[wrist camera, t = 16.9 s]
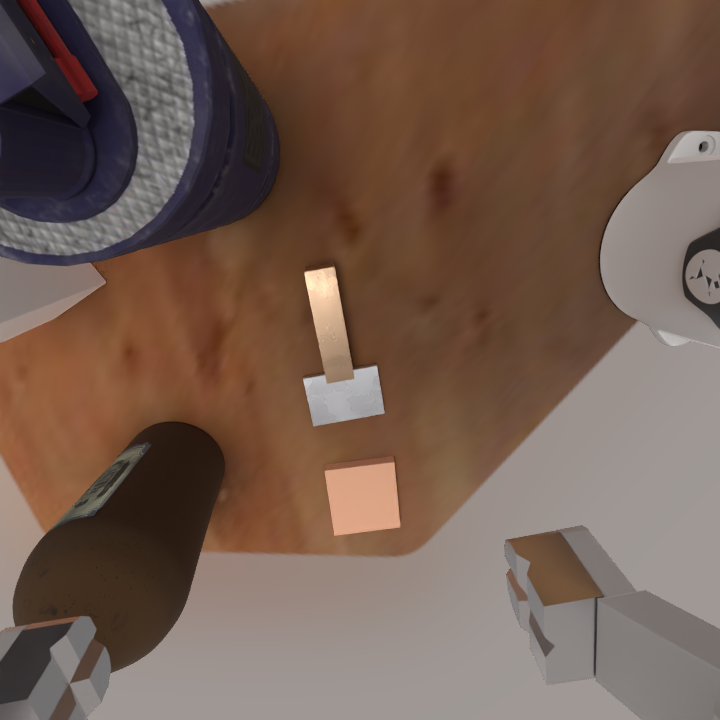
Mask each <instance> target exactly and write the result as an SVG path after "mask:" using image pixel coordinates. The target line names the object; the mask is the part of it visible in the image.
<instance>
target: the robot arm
mask: <svg viewBox="0 0 720 720" xmlns="http://www.w3.org/2000/svg"><path fill="white" fill-rule="evenodd" d="M700 143H701V144H702V149H701V151H699V145H700ZM600 268H601V275H602V280H603V283H604V286H605V289H606V291H607V293H608V295H609V297H610V298H611V300H612V301H613V302H614V304H615V305H616V306H617V307H618V308H619V309H620V310H621V311H623V312H624V313H625V314H627V315H629V316H630V317H632V318H634V319H636V320H638V321H641V322H642V323H644V324H646V325H647V326H648V327H649V328H650V330H651V331H652V333H653V334H654V335H655V337H656V338H657V339H658V340H659V341H660V342H661V343H663V344H666V345H670V346H679V345H682V344H685V343H688V342H691V341H694V342H697V343H701V344H704V345H707V346H711V347H715V348H718V349H720V132H715V131H684V132H681V133H679V134H678V135H677V136H676V137H675V138H674V139H673V140H672V141H671V142H670V144H669V145H668V147H667V148H666V150H665V152H664V153H663V155H662V157H661V159H660V160H659V162H658V164H657V165H656V167H655V168H654V169H653V170H652V171H651V172H650V173H649V174H648V175H646V176H645V177H644V178H643V179H642V180H641V181H639V182H638V183H637V184H636V185H635V186H634V187H633V188H632V189H631V190H630V191H629V192H628V193H627V194H626V196H625V197H624V198H623V199H622V201H621V202H620V203H619V205H618V206H617V208H616V210H615V211H614V213H613V215H612V217H611V219H610V221H609V223H608V225H607V228H606V231H605V234H604V237H603V241H602V246H601V253H600ZM504 547H505V557H506V559H507V561H508V563H509V566H510V569H509V571H508V572H507V574H506V577H507V586H508V592H509V596H510V601H511V604H512V607H513V610H514V613H515V615H516V618H517V620H518V622H519V625H520V627H521V628H523V629H524V630H525V631H527V632H528V633H529V634H530V650H531V652H532V654H533V656H534V658H535V660H536V663H537V665H538V667H539V669H540V671H541V673H542V676H543V678H544V680H545V682H546V684H547V685H551V684H557V683H564V682H571V681H577V680H585V679H591V678H596V681H597V682H598V683H599V684H600V685H601V686H603V687H604V688H605V689H606V690H607V691H608V692H610V693H611V694H612V695H613V696H614V697H616V698H617V699H618V700H619V701H620V702H622V703H623V704H624V705H625V706H626V707H628V709H630V710H631V711H632V712H633V713H634V714H636V715H637V716H638V717H639V718H640V719H641V720H720V629H719V628H717V627H715V626H713V625H711V624H709V623H707V622H705V621H704V620H702V619H700V618H698V617H696V616H694V615H692V614H690V613H688V612H686V611H684V610H683V609H681V608H679V607H677V606H675V605H673V604H671V603H669V602H667V601H665V600H663V599H661V598H660V597H658V596H656V595H654V594H652V593H650V592H648V591H646V590H644V591H636V589H635V588H634V587H633V586H632V584H631V583H630V582H629V581H628V579H627V578H626V577H625V575H624V574H623V573H622V572H621V570H620V569H619V568H618V567H617V566H616V564H615V563H614V562H613V560H612V559H611V558H610V557H609V555H608V554H607V553H606V551H605V550H604V549H603V548H602V546H601V545H600V544H599V543H598V541H597V540H596V539H595V538H594V536H593V535H592V534H591V533H590V531H589V530H588V529H587V528H586V527H584V526H582V525H581V526H576V527H570V528H565V529H560V530H556V531H551V532H546V533H540V534H535V535H529V536H524V537H519V538H513V539H508V540H505V545H504ZM96 630H97V629H96V627H95V625H94V623H93V622H92V620H91V618H90V617H87V616H78V617H72V618H65V619H58V620H52V621H45V622H39V623H32V624H30V625H23V626H16V627H9V628H5V629H4V630H2V631H1V632H0V720H88V719H87V717H88V716H89V714H90V713H91V712H92V711H93V710H94V709H95V708H96V707H97V706H98V705H99V704H100V703H101V702H102V700H103V697H104V695H105V692H106V690H107V688H108V684H109V678H110V672H111V664H110V657H109V654H108V652H107V649H106V647H105V646H104V645H102V644H101V643H99V642H97V641H96V640H94V639H93V637H94V635H95V632H96Z"/></svg>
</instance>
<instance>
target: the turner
mask: <svg viewBox="0 0 720 720" xmlns="http://www.w3.org/2000/svg"><path fill="white" fill-rule="evenodd" d="M304 275H305V279H306V284H307V289H308V294H309V299H310V304H311V309H312V314H313V319H314V323H315V328H316V333H317V338H318V343H319V348H320V353H321V358H322V362H323V367H324V372H325V373H319V374H313V375H308V376H303V381H304V385H305V390H306V394H307V399H308V403H309V408H310V412H311V417H312V421H313V426H317V425H323V424H329V423H334V422H340V421H345V420H351V419H357V418H362V417H368V416H373V415H379V414H385V412H384V406H383V400H382V394H381V387H380V381H379V375H378V369H377V364H376V363H375V364H370V365H364V366H359V367H353V365H352V360H351V354H350V349H349V343H348V338H347V332H346V327H345V321H344V316H343V310H342V305H341V299H340V294H339V288H338V283H337V277H336V272H335V266H334V262H331V263H325V264H320V265H314V266H308V267H305V270H304Z"/></svg>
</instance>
